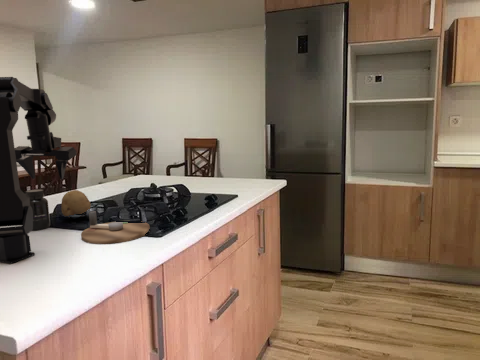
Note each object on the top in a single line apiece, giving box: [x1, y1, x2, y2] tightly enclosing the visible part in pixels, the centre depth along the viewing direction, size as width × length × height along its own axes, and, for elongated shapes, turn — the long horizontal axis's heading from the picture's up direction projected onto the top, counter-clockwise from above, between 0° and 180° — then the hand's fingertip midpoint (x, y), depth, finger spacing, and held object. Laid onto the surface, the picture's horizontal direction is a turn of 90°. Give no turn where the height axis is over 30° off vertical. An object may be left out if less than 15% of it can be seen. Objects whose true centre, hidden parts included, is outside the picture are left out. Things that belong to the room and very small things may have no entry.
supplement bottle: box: [25, 189, 51, 231], centre depth 119 cm, size 7×7×12 cm
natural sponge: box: [61, 189, 92, 217], centre depth 128 cm, size 9×9×10 cm
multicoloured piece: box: [88, 210, 123, 230], centre depth 111 cm, size 10×4×5 cm, turn 78°
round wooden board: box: [80, 221, 150, 245], centre depth 110 cm, size 19×19×1 cm
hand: (48, 178), depth 122 cm, fingers open, 9 cm apart
